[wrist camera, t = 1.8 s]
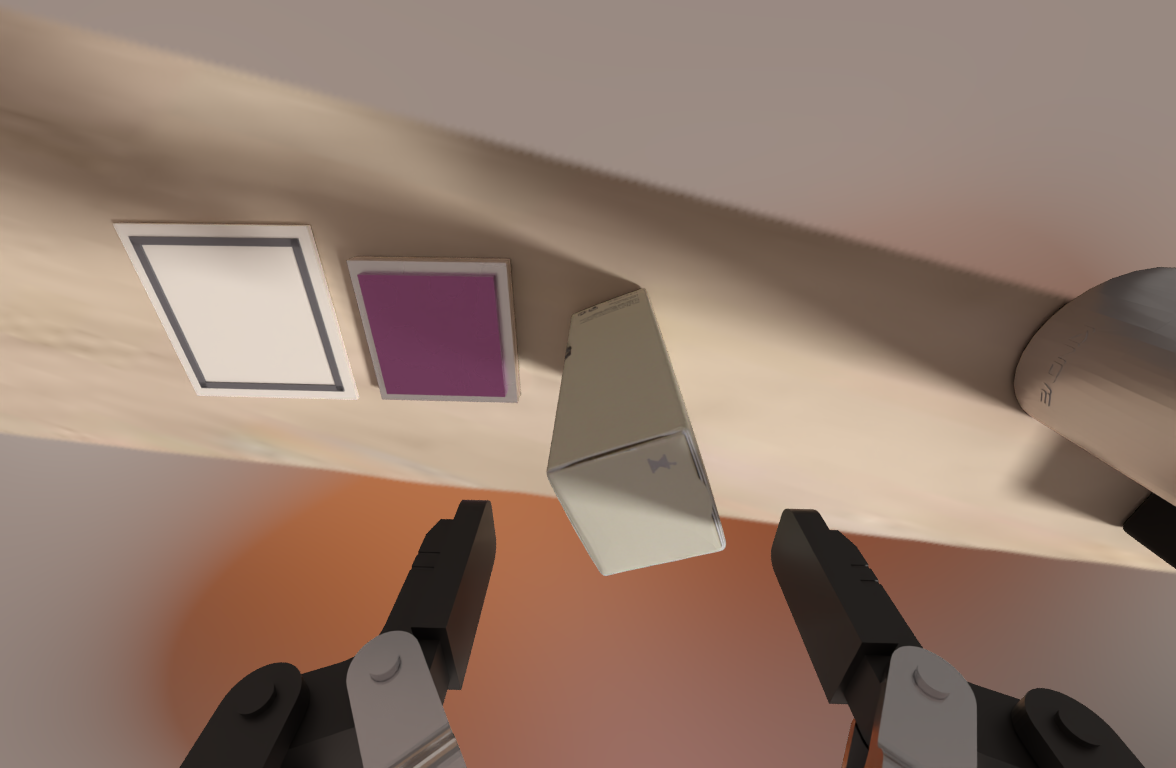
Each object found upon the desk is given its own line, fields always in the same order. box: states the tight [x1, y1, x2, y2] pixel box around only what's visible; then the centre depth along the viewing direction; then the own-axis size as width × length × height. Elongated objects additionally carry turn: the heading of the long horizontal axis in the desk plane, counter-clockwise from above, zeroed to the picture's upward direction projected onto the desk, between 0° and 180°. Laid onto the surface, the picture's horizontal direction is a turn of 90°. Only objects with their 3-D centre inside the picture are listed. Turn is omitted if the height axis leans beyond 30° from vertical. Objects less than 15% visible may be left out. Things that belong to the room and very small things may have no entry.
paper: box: [113, 223, 359, 400], centre depth 24 cm, size 10×10×1 cm
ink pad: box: [346, 256, 521, 403], centre depth 23 cm, size 8×8×1 cm
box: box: [547, 289, 726, 576], centre depth 18 cm, size 5×4×13 cm
